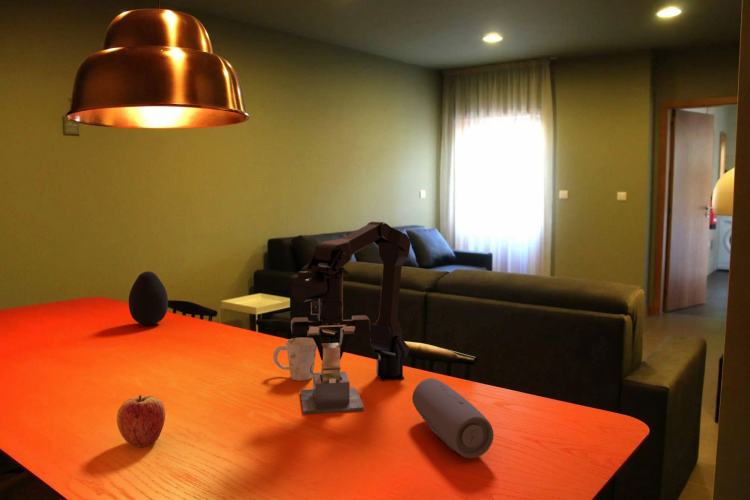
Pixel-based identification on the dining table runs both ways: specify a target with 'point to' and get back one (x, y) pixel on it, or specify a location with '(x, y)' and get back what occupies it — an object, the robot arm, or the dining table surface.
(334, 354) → the column
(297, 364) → the mug
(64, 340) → the dining table surface
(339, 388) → the stand base
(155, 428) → the apple
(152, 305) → the egg
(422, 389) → the bluetooth speaker
